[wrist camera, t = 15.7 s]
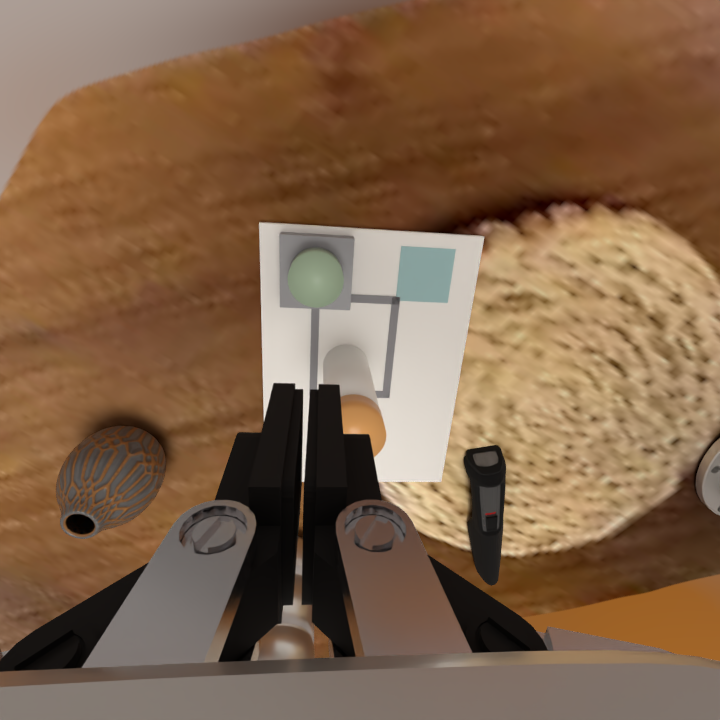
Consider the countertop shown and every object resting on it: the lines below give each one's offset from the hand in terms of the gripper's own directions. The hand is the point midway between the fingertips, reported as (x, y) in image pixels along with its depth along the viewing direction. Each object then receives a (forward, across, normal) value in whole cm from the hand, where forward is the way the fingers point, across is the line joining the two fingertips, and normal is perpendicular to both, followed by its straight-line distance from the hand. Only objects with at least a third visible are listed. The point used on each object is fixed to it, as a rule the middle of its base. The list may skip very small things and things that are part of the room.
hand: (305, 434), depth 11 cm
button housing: (+21, 0, 0) cm, 21 cm away
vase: (+22, +15, +16) cm, 31 cm away
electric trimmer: (+23, -17, +23) cm, 36 cm away
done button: (+20, 0, 0) cm, 20 cm away
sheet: (+22, -4, +8) cm, 24 cm away
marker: (+21, -2, +8) cm, 23 cm away
